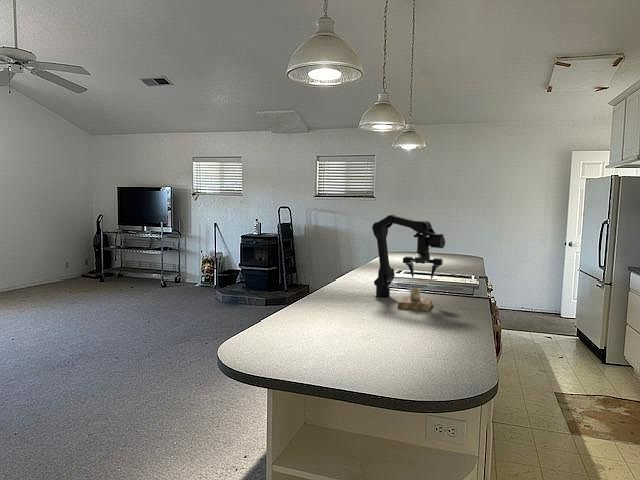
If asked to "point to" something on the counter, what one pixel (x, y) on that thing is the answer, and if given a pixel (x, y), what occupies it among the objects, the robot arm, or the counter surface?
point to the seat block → (415, 304)
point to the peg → (415, 294)
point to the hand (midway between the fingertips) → (422, 278)
